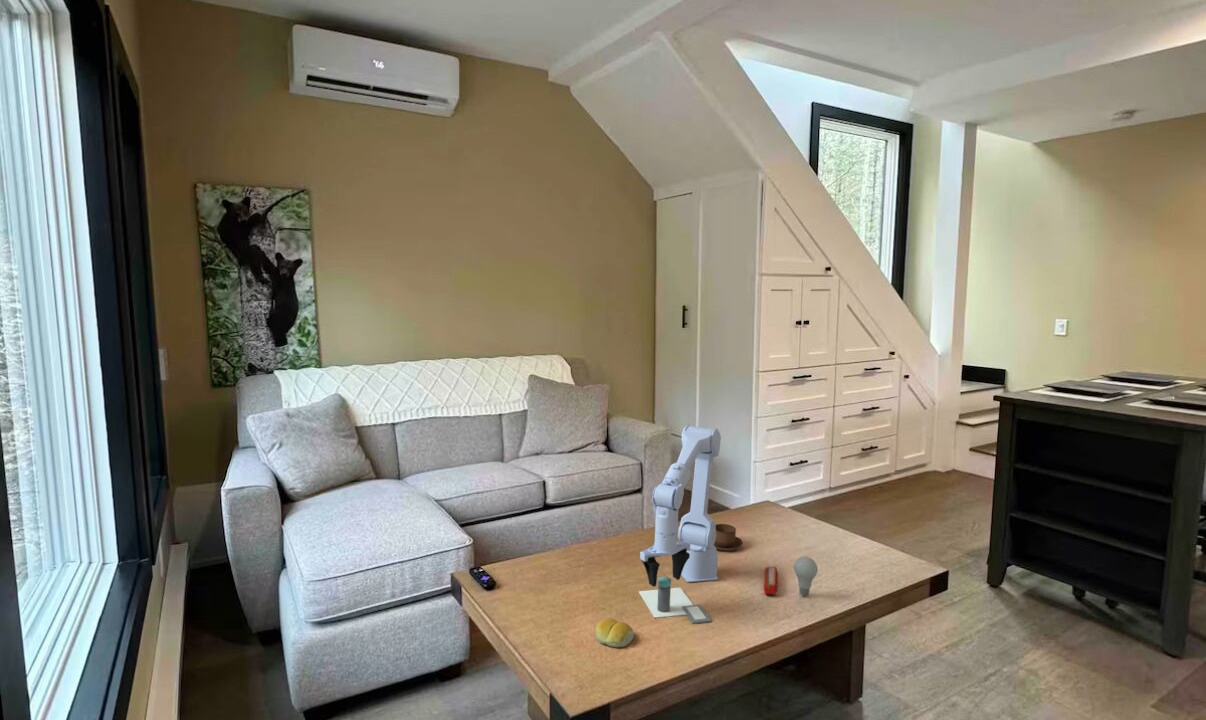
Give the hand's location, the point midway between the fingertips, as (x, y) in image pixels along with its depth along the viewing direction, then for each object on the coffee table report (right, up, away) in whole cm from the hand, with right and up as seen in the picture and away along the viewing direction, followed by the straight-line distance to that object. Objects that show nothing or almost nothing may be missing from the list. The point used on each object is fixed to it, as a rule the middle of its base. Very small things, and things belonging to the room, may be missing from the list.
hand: (664, 581), depth 164 cm
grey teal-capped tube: (0, -8, +1) cm, 8 cm away
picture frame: (+8, -8, -1) cm, 11 cm away
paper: (+1, -7, +5) cm, 9 cm away
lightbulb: (+39, -8, +10) cm, 41 cm away
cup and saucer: (+23, -4, +43) cm, 49 cm away
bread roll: (-13, -9, -13) cm, 21 cm away
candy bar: (+32, -7, +17) cm, 37 cm away
